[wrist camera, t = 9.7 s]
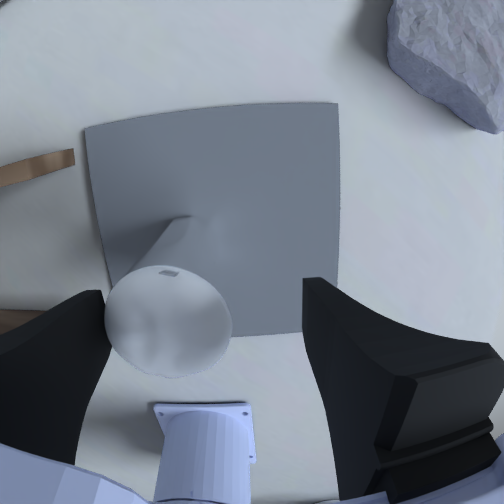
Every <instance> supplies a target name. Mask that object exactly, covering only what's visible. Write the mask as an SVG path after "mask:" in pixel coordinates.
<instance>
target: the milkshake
mask: <svg viewBox="0 0 504 504" xmlns="http://www.w3.org/2000/svg"><path fill="white" fill-rule="evenodd" d="M104 323H105V329H106V333H107V336H108V339H109V341H110V343H111V345H112V347H113V348H114V349H115V351H116V352H117V353H118V354H119V355H120V356H121V357H123V358H124V359H125V360H126V361H127V362H129V363H130V364H131V365H132V366H134V367H135V368H136V369H138V370H139V371H141V372H144V373H147V374H152V375H157V376H161V377H165V378H179V377H184V376H188V375H191V374H195V373H199V372H202V371H205V370H207V369H209V368H211V367H212V366H214V365H215V364H216V363H217V362H218V361H219V360H220V359H221V358H222V357H223V355H224V353H225V352H226V350H227V347H228V345H229V342H230V338H231V334H232V319H231V315H230V312H229V308H228V303H227V299H226V295H225V290H224V286H223V281H222V274H221V267H220V260H219V254H218V247H217V241H216V239H215V237H214V235H213V233H212V231H211V229H210V227H209V225H207V224H206V223H204V222H202V221H200V220H198V219H196V218H194V217H193V216H192V217H184V218H175V219H173V220H172V221H171V222H170V223H169V224H168V225H167V226H166V227H165V228H164V229H163V230H162V231H161V232H160V233H159V234H158V235H157V237H156V238H155V239H154V240H153V242H152V243H151V244H150V245H149V247H148V248H147V249H146V251H145V252H144V253H143V254H142V256H141V257H140V258H139V259H138V260H137V261H136V262H135V263H134V264H133V265H132V266H131V268H130V269H129V270H128V271H127V272H126V273H125V274H124V276H123V277H122V278H121V279H120V280H119V281H118V283H117V284H116V285H115V286H114V287H113V289H112V290H111V292H110V293H109V295H108V298H107V301H106V305H105V314H104Z"/></svg>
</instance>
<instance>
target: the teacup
mask: <svg viewBox="0 0 504 504" xmlns="http://www.w3.org/2000/svg"><path fill="white" fill-rule="evenodd" d="M339 501H340V500H327V501H322V502H318V503H315V504H328V503H333V502H339Z"/></svg>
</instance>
